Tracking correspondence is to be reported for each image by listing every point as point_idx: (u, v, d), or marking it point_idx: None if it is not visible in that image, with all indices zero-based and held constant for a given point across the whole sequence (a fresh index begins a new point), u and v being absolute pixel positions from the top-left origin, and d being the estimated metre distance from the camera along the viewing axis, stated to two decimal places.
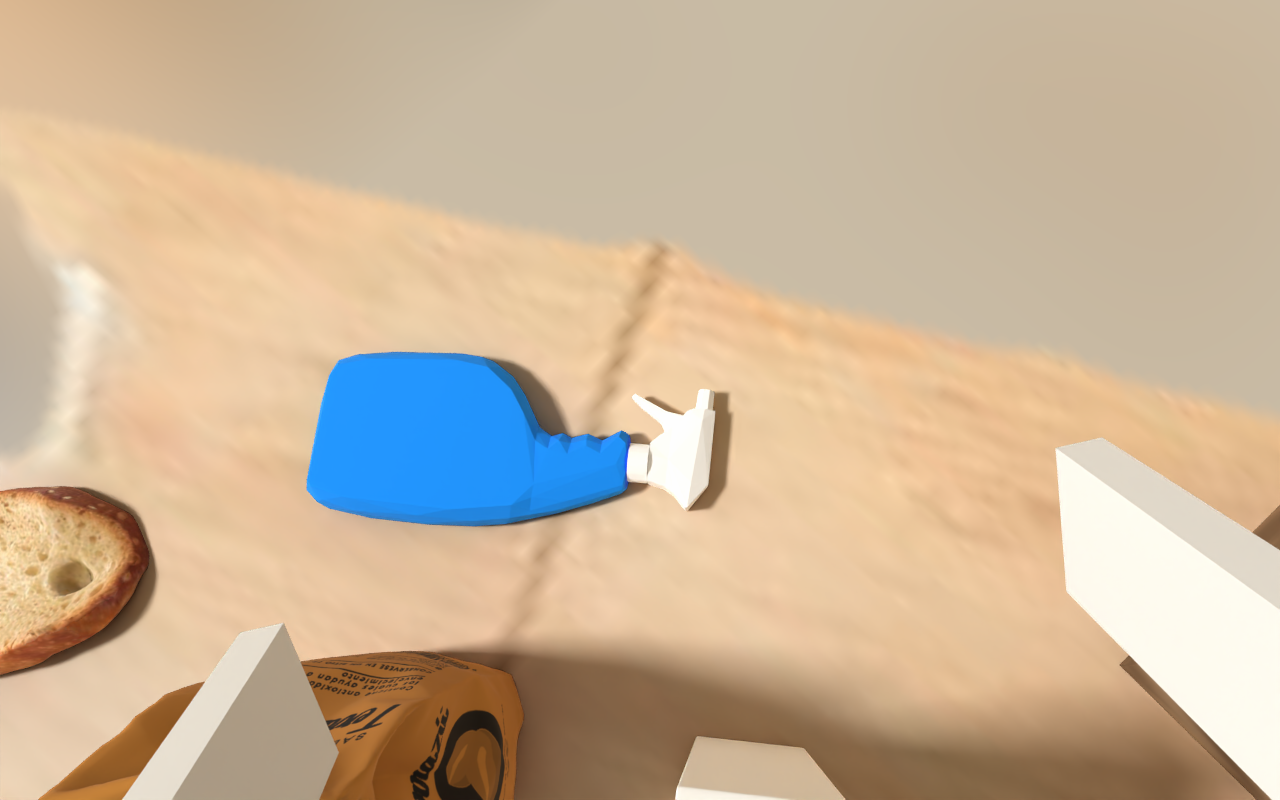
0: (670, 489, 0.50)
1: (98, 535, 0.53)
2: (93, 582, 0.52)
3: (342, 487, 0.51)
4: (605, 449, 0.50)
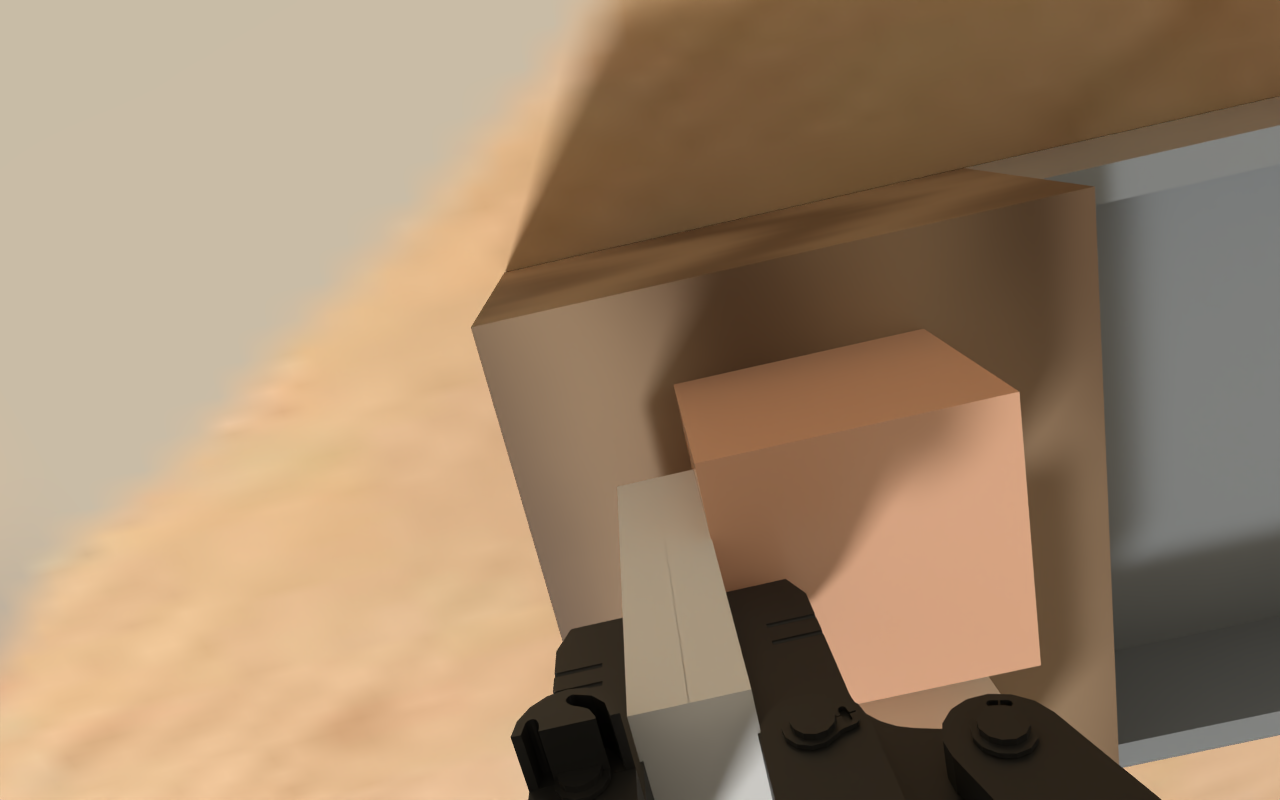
0: None
1: None
2: None
3: None
4: None
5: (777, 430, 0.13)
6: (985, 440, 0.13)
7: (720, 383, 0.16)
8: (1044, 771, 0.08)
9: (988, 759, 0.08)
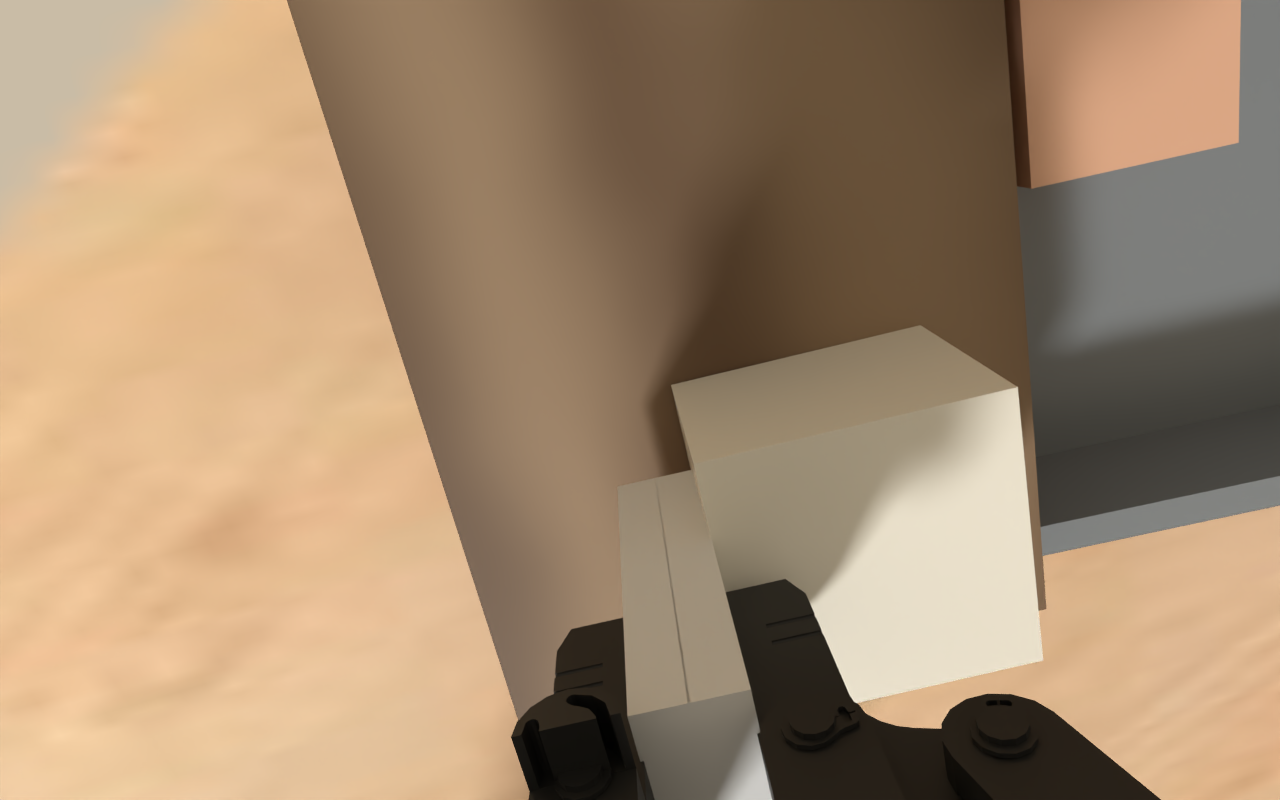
0: None
1: None
2: None
3: None
4: None
5: None
6: None
7: None
8: (1044, 771, 0.08)
9: (988, 759, 0.08)
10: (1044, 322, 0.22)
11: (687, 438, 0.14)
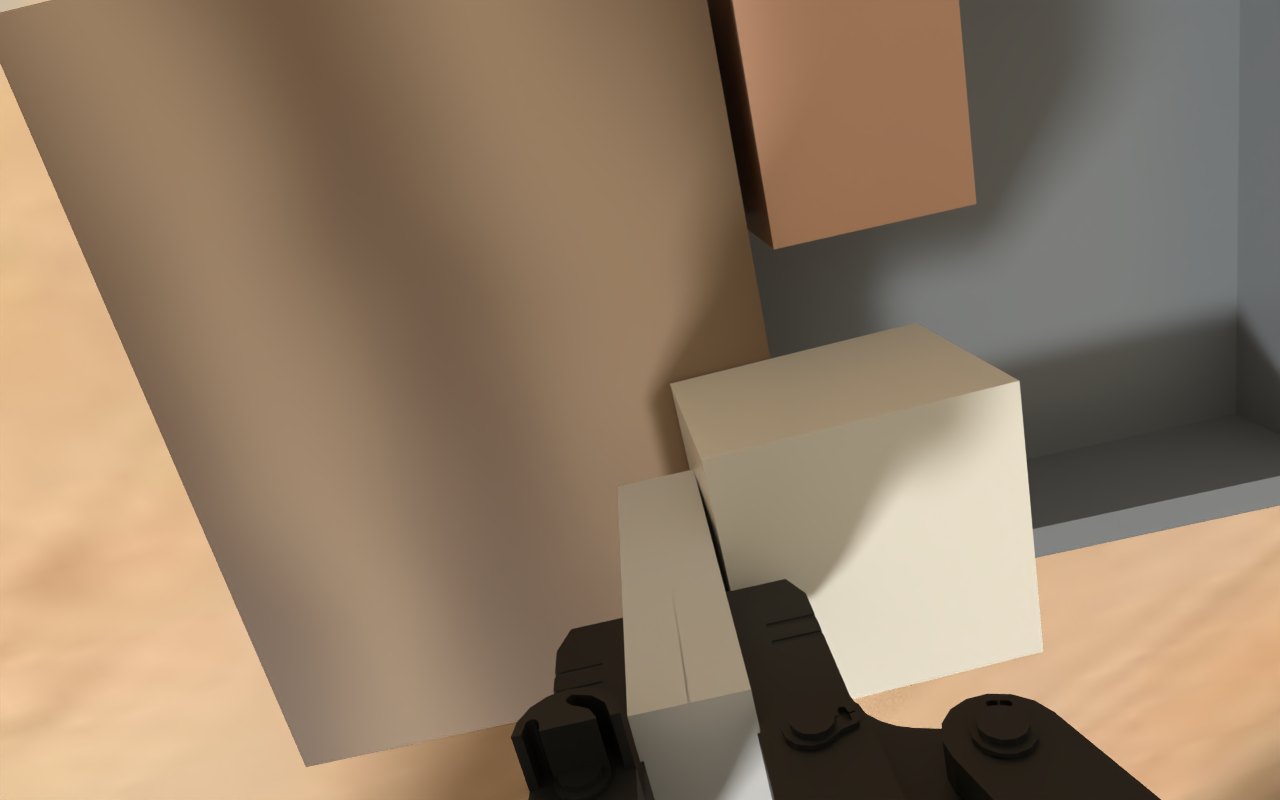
0: None
1: None
2: None
3: None
4: None
5: None
6: None
7: None
8: (1044, 771, 0.08)
9: (988, 759, 0.08)
10: None
11: (692, 435, 0.14)
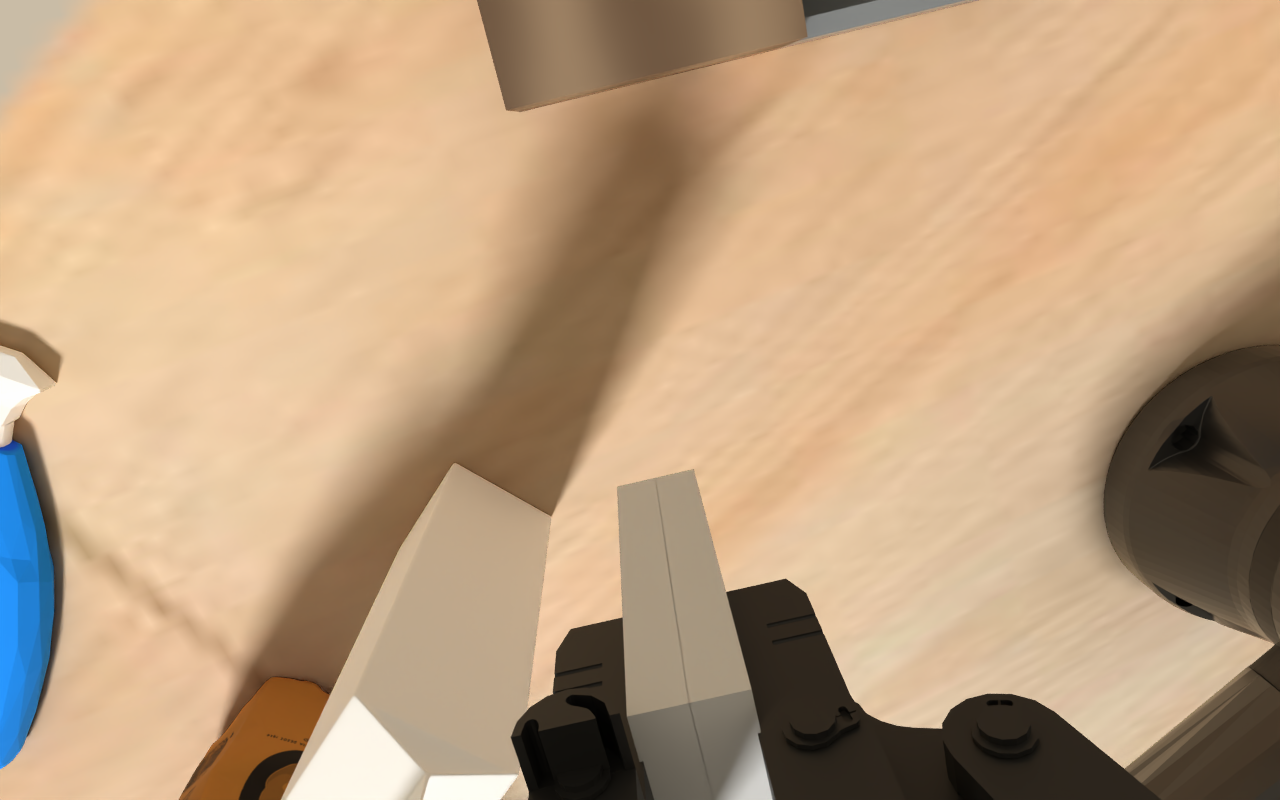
0: (15, 403, 0.41)
1: None
2: None
3: None
4: None
5: None
6: None
7: None
8: (1044, 771, 0.08)
9: (988, 759, 0.08)
10: None
11: None
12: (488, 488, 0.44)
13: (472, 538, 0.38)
